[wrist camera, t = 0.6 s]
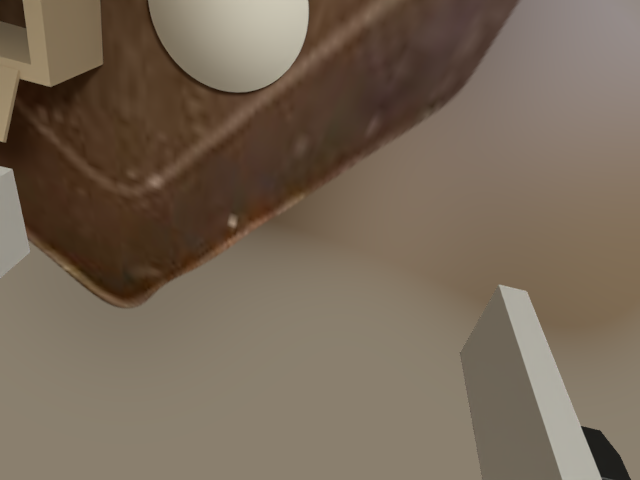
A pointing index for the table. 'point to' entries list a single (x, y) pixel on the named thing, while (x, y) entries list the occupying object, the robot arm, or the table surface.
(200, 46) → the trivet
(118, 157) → the table surface
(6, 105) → the carton
